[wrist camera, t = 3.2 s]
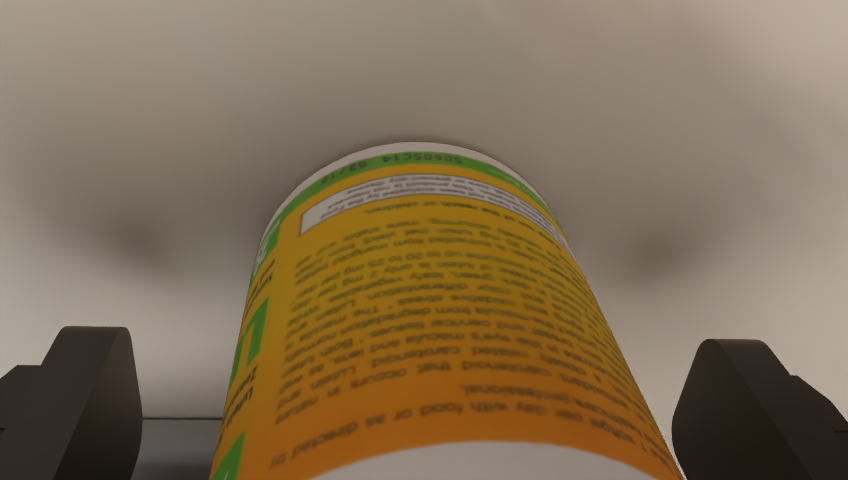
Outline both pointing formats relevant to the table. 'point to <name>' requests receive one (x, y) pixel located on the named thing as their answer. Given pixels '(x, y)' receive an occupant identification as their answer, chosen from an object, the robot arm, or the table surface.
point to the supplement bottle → (427, 336)
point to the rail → (176, 449)
